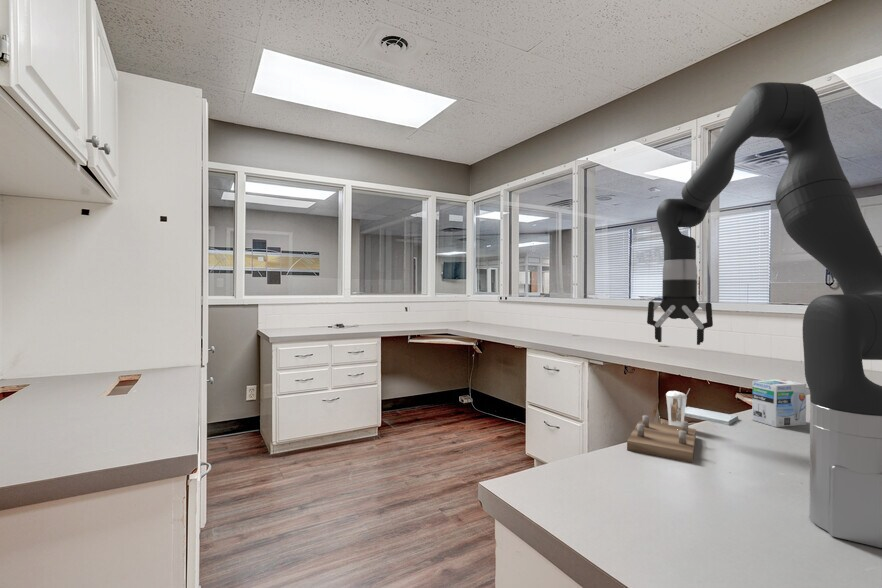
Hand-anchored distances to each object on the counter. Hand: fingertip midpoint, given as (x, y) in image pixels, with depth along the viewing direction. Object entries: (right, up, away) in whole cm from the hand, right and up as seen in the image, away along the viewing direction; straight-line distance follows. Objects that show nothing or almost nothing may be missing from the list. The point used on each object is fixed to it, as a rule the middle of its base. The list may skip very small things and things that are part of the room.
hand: (678, 343), depth 106 cm
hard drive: (+13, -22, +10) cm, 28 cm away
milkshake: (0, -21, 0) cm, 21 cm away
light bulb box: (+30, -22, +6) cm, 37 cm away
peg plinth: (-10, -21, -12) cm, 26 cm away
